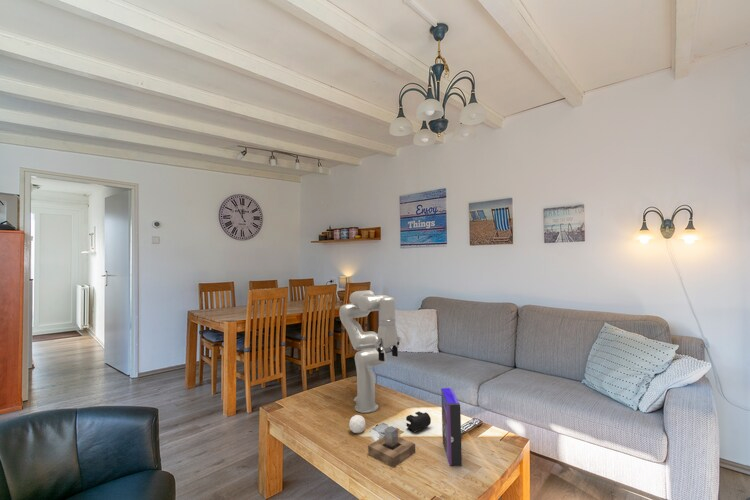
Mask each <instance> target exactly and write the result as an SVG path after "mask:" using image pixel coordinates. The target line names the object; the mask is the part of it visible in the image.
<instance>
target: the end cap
mask: <svg viewBox="0 0 750 500" xmlns="http://www.w3.org/2000/svg"><path fill="white" fill-rule="evenodd" d="M405 419H406V421H407V422H405V423H406V427H407V428H406V430H407V431H409V432H410V433H413V434H414V433H416V432H418V431H421V430H423V429H424V428H427V427H429V426H430V425H431V423H432V419H431V416H430V415H429V413H428V412H427V411H426V412H422V411H416V412H415V415H412V414H409V415H407V416H406V418H405Z"/></svg>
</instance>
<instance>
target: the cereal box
mask: <svg viewBox="0 0 750 500" xmlns="http://www.w3.org/2000/svg"><path fill="white" fill-rule="evenodd" d="M440 391H441V392H440V393H441V424H442V426H441V431H442V434H441V435H442V444H443V449H444V452H445V455H446V458H447V461H448V466H449V467H463V462H462V461H463V459H462V458H463V457H462V456H463V455H462V454H463V452H462V424H461V423H462V422H461V421H462V419H461V417H462V416H461V415H462V414H461V404H460V402H459V400H458V397H457V396H456V394H455V392H454V389H453V388H451V387H443V388H440Z"/></svg>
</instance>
